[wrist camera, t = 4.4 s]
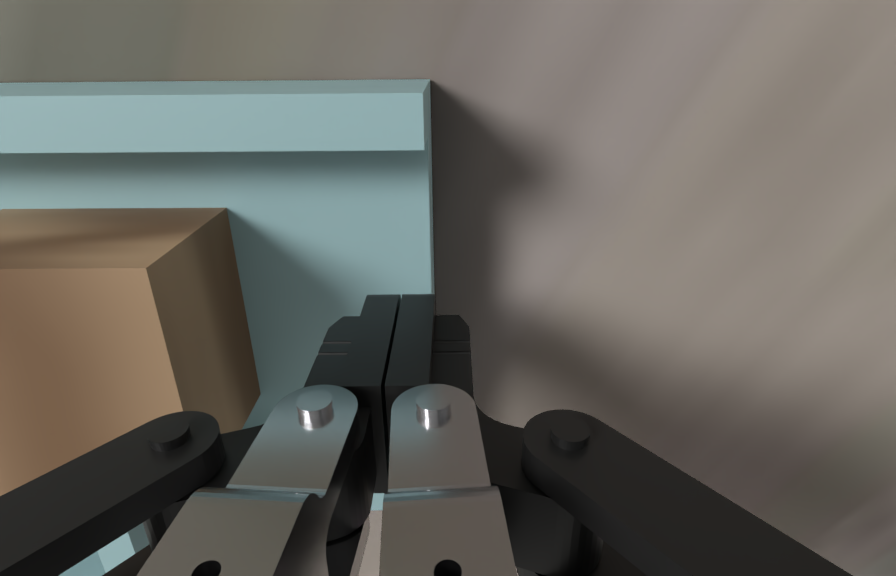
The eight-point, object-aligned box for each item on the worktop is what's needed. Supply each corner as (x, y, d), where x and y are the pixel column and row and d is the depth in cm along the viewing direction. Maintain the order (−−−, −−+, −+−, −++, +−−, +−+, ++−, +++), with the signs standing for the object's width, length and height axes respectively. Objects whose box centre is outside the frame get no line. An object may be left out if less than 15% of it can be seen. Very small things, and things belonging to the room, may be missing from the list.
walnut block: (226, 207, 12) (145, 267, 9) (260, 394, 14) (205, 497, 11) (2, 209, 12) (-157, 269, 9) (69, 394, 14) (-41, 497, 11)
